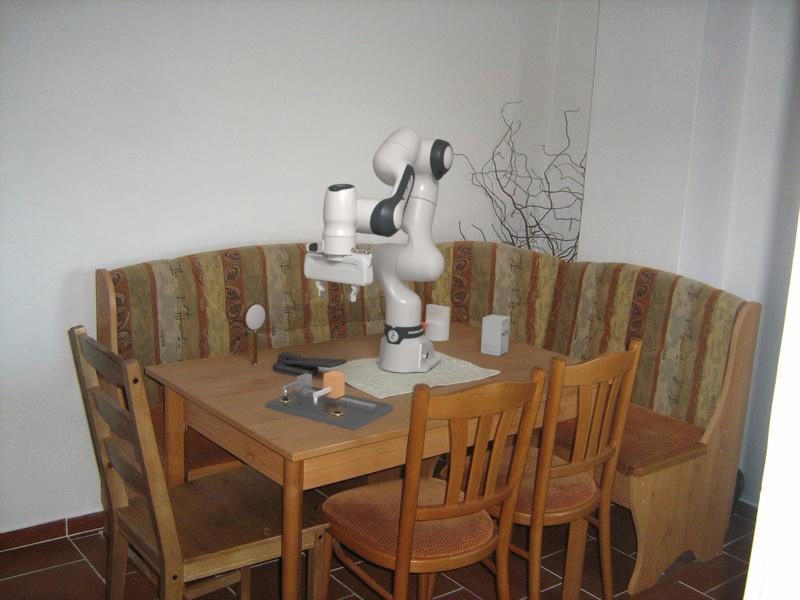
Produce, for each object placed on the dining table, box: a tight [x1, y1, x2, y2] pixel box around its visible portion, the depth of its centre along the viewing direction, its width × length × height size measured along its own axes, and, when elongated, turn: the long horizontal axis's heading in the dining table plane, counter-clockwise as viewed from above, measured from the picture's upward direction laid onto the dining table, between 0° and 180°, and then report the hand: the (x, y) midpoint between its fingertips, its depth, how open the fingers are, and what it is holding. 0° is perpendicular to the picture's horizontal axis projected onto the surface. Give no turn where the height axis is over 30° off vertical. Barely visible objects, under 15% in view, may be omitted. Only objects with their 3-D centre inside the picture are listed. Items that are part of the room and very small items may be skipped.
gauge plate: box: [266, 373, 394, 431], centre depth 204 cm, size 18×28×6 cm, turn 58°
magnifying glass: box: [243, 302, 267, 367], centre depth 241 cm, size 9×2×20 cm, turn 141°
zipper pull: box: [272, 351, 348, 378], centre depth 234 cm, size 9×7×25 cm
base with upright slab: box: [424, 303, 451, 342], centre depth 285 cm, size 9×9×12 cm
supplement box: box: [480, 314, 511, 357], centre depth 266 cm, size 7×7×13 cm
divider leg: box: [313, 370, 346, 406], centre depth 204 cm, size 10×4×6 cm, turn 148°
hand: (337, 299), depth 205 cm, fingers open, 8 cm apart
